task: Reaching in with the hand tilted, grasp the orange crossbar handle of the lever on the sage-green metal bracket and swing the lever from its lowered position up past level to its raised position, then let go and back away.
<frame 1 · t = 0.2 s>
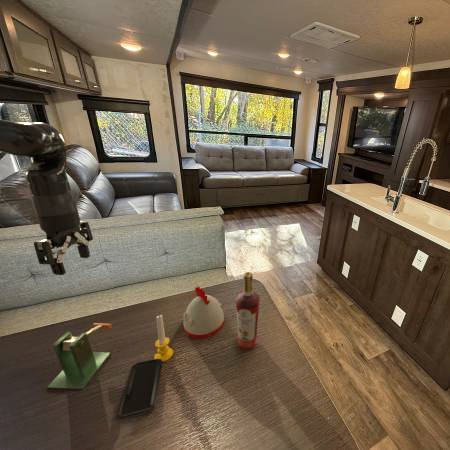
hand: (73, 265, 67), 30 cm above the table, tool pointing down, fingers open, 8 cm apart
liquor: (247, 343, 84), on the table
lever: (87, 334, 71), point 9 cm above the table, hinge at -22.0°
kitchen timer: (204, 323, 90), on the table
phone: (142, 387, 68), on the table, touching candle
bracket: (82, 371, 70), on the table
candle: (163, 355, 77), on the table, touching phone
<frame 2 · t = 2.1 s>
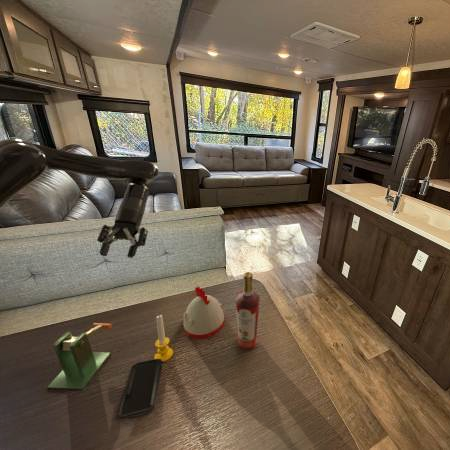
hand: (116, 256, 81), 25 cm above the table, tool tilted 45°, fingers open, 8 cm apart
nothing on the table moved.
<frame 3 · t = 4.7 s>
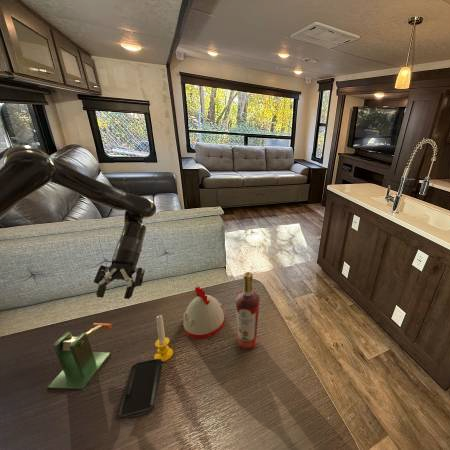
hand: (113, 298, 81), 12 cm above the table, tool tilted 45°, fingers open, 8 cm apart
nothing on the table moved.
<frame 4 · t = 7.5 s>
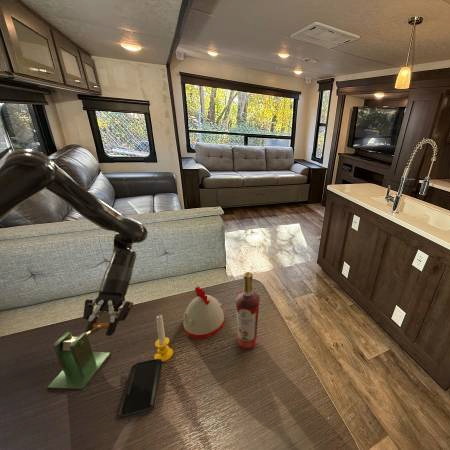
hand: (99, 334, 76), 5 cm above the table, tool tilted 45°, fingers closed on lever, 5 cm apart
lever: (87, 334, 71), point 9 cm above the table, hinge at -22.0°, touching gripper
everything else where it was.
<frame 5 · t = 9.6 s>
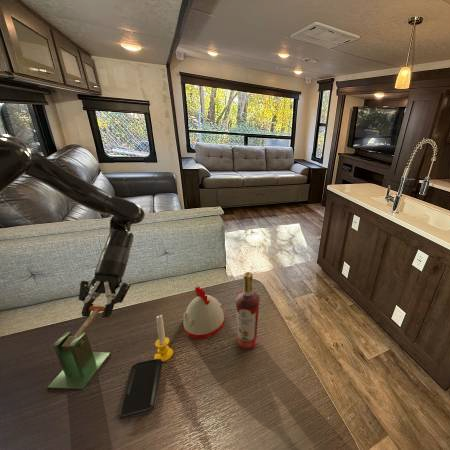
hand: (95, 316, 74), 12 cm above the table, tool tilted 45°, fingers closed on lever, 5 cm apart
lever: (85, 326, 70), point 12 cm above the table, hinge at 12.0°, touching gripper
everything else where it was.
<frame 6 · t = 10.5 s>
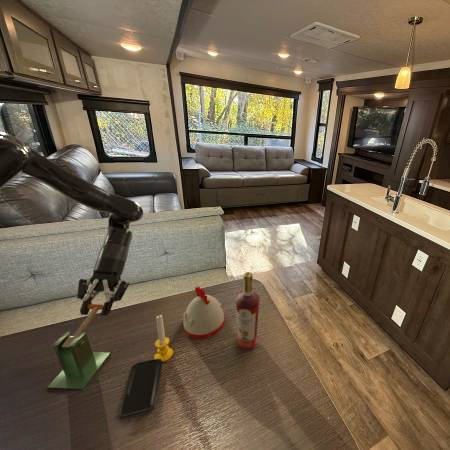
hand: (94, 314, 73), 13 cm above the table, tool tilted 45°, fingers closed on lever, 5 cm apart
lever: (84, 325, 70), point 12 cm above the table, hinge at 16.9°, touching gripper
everything else where it was.
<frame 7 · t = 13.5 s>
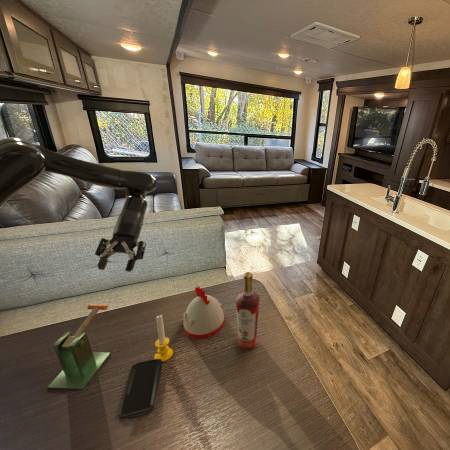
hand: (114, 270, 81), 21 cm above the table, tool tilted 45°, fingers open, 8 cm apart
lever: (84, 325, 70), point 12 cm above the table, hinge at 16.2°
everything else where it was.
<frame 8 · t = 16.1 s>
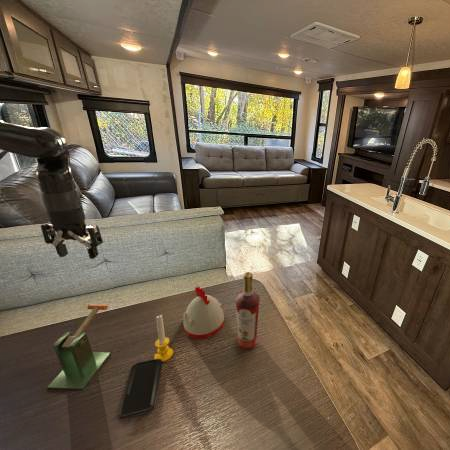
hand: (79, 256, 74), 28 cm above the table, tool pointing down, fingers open, 8 cm apart
nothing on the table moved.
at the end: lever at +16° (first picture: -22°); lever reached -22° during the clip, +16° at the end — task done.
